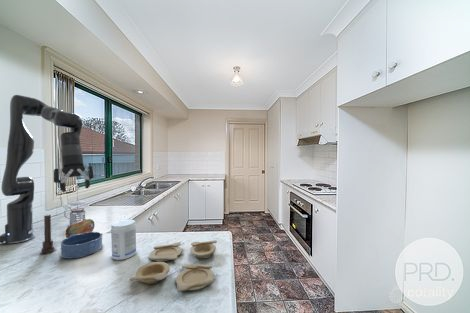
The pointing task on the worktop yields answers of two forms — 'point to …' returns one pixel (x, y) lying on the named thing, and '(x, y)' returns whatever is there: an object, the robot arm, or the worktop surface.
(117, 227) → the supplement tub
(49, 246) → the muddler
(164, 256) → the tableware set
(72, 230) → the tin
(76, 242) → the bowl
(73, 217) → the french press
